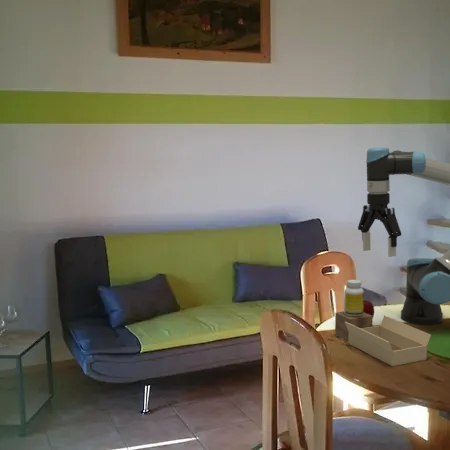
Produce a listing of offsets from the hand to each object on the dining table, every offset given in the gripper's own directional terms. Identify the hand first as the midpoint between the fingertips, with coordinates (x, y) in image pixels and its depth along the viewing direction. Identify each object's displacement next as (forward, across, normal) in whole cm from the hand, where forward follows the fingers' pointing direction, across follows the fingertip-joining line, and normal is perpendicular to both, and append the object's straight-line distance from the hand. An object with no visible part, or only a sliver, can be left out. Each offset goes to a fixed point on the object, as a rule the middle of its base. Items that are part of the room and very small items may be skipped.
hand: (379, 253), depth 223 cm
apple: (+28, -6, -4) cm, 29 cm away
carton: (+28, +18, -13) cm, 35 cm away
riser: (+27, +2, -13) cm, 30 cm away
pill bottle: (+20, +2, -13) cm, 23 cm away
